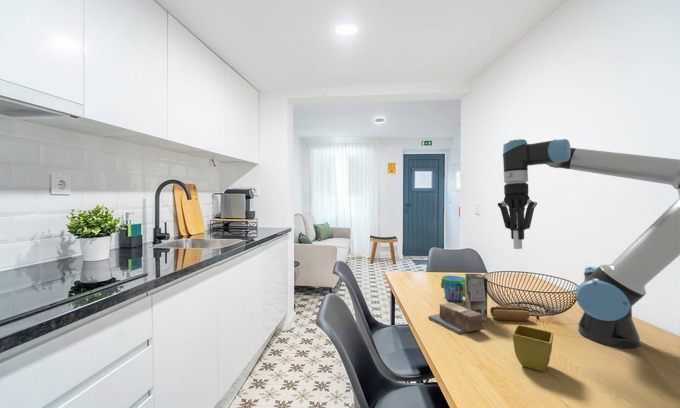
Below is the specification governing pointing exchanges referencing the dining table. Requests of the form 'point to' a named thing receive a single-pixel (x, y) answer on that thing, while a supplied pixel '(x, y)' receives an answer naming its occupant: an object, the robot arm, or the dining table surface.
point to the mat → (447, 324)
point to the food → (510, 313)
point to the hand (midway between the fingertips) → (518, 248)
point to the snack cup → (453, 287)
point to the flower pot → (532, 347)
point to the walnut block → (461, 316)
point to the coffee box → (476, 294)
